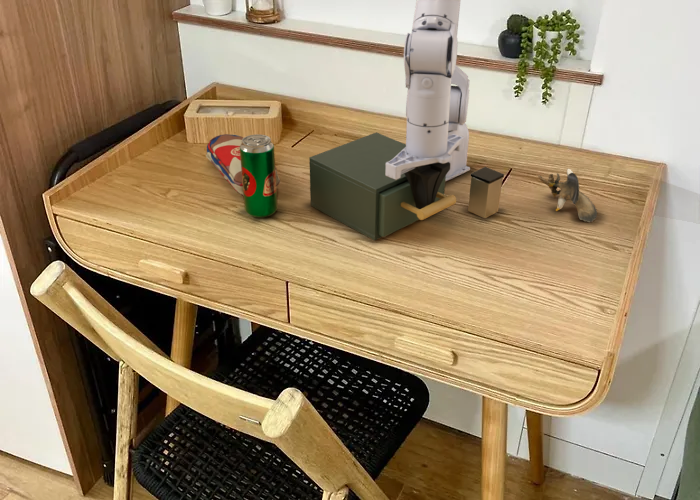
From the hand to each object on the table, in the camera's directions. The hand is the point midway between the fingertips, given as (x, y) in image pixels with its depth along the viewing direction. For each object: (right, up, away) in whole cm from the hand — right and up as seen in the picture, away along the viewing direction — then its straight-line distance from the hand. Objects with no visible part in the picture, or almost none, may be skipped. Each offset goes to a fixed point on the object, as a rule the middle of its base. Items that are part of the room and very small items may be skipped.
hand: (423, 208), depth 104 cm
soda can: (-25, 0, +7) cm, 26 cm away
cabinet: (-7, +1, +8) cm, 11 cm away
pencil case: (-29, +6, +17) cm, 34 cm away
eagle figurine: (+24, 0, +8) cm, 25 cm away
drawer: (-4, 0, +5) cm, 7 cm away
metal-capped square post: (+10, 0, +7) cm, 12 cm away
